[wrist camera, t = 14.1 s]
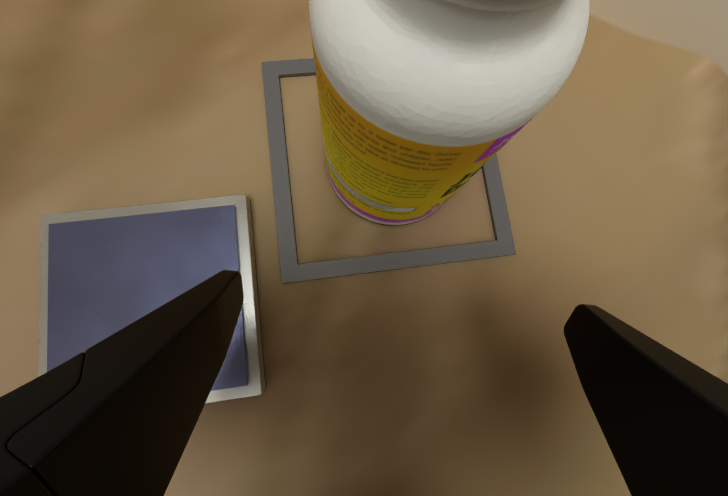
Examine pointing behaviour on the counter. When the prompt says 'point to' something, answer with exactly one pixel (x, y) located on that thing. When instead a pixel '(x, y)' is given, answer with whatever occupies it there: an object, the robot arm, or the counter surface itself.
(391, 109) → the supplement bottle
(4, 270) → the counter surface
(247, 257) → the ink pad
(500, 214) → the outlined square
